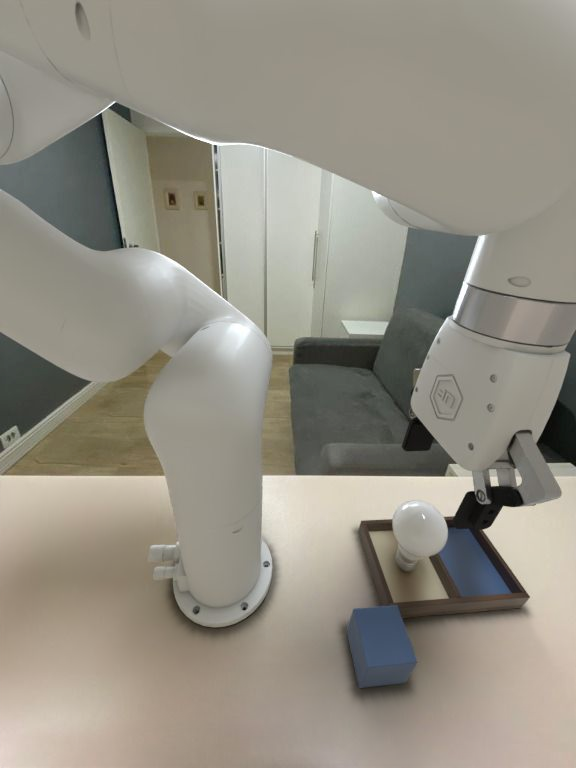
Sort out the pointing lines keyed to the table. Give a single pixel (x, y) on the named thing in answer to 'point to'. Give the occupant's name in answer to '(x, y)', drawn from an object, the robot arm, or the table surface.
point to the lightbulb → (418, 532)
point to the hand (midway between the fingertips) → (438, 482)
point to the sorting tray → (441, 573)
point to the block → (380, 646)
